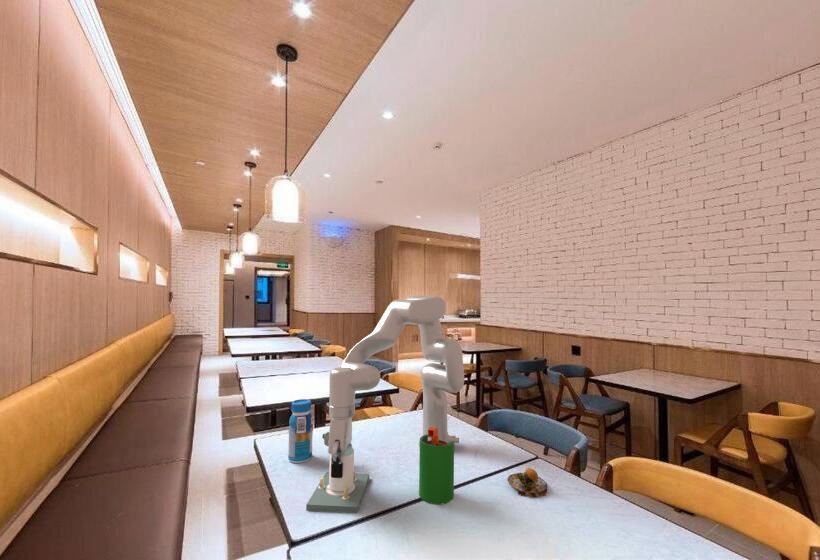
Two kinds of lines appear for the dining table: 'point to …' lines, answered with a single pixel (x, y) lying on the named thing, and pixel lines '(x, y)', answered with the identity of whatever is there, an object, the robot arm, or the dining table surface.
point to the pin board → (338, 495)
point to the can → (348, 471)
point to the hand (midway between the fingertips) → (341, 469)
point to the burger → (528, 483)
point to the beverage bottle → (300, 432)
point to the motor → (436, 469)
